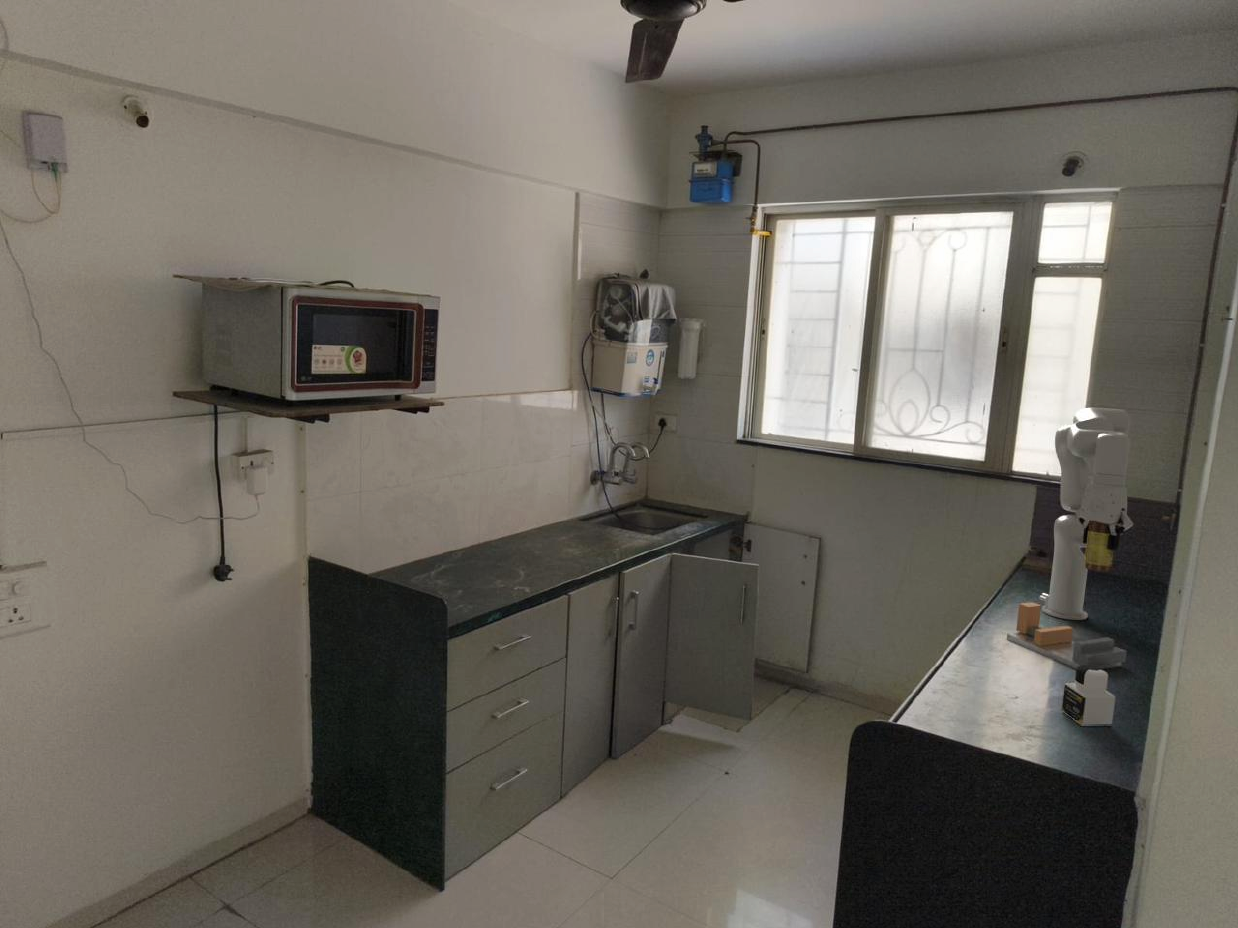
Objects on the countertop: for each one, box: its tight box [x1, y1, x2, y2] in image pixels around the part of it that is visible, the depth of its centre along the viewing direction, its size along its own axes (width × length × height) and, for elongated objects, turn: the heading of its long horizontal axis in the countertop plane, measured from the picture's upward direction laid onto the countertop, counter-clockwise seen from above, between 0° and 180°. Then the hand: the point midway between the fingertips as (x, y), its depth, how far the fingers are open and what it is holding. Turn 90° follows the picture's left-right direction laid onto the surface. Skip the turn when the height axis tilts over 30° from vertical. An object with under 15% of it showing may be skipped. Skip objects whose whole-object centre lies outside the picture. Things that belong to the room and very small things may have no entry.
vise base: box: [1006, 631, 1128, 670], centre depth 215 cm, size 25×14×6 cm, turn 21°
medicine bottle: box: [1061, 665, 1116, 725], centre depth 175 cm, size 7×7×12 cm
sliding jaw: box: [1015, 601, 1074, 646], centre depth 222 cm, size 11×12×8 cm
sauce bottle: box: [1085, 521, 1116, 573], centre depth 212 cm, size 6×6×20 cm
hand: (1099, 545), depth 212 cm, fingers closed on sauce bottle, 6 cm apart
